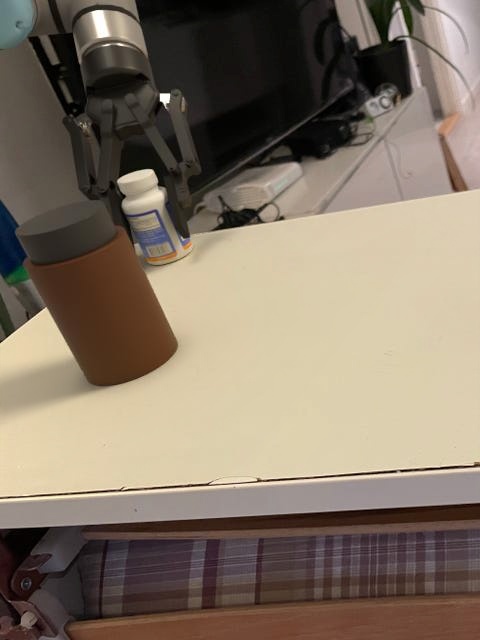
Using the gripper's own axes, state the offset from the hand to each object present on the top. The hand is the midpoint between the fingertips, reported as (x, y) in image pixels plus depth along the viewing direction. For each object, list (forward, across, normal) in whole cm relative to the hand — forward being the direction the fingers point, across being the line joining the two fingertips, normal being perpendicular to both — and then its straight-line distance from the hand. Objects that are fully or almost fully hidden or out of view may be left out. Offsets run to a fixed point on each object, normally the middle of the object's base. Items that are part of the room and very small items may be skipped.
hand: (155, 240), depth 84 cm
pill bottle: (0, 0, -5) cm, 5 cm away
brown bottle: (+18, +1, +13) cm, 22 cm away
